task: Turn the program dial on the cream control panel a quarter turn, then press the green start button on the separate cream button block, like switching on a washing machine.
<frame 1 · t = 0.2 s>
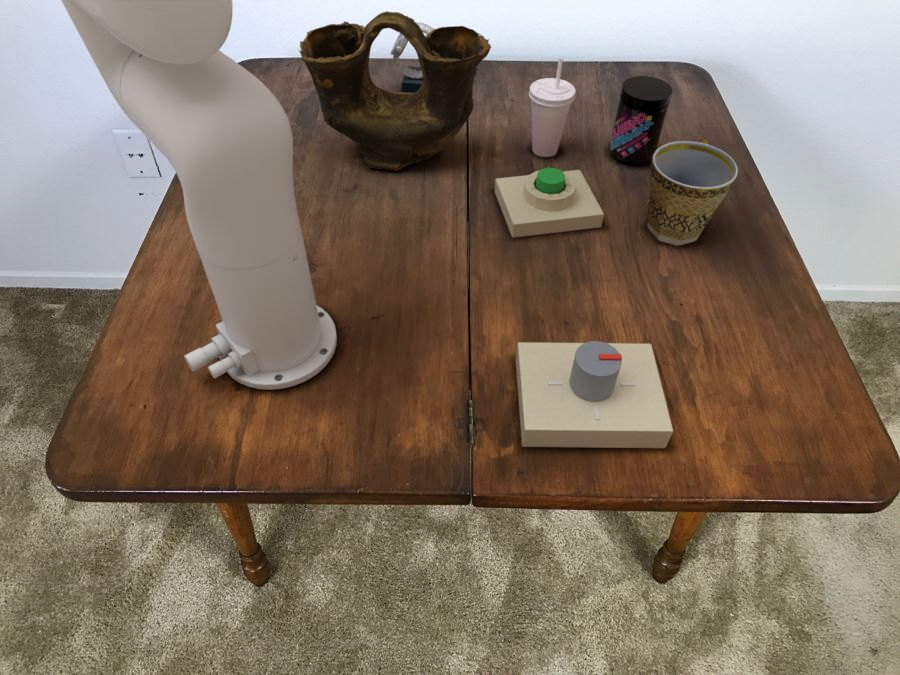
pottery vessel: (400, 154, 99), on the table
supplement container: (631, 155, 100), on the table
control panel: (586, 402, 70), on the table
start button: (550, 181, 87), point 4 cm above the table, slide at 0.1 cm
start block: (546, 209, 91), on the table
ceramic cup: (675, 223, 89), on the table
program dial: (595, 370, 66), point 5 cm above the table, hinge at 0.0°
smoothie: (544, 151, 100), on the table
watch: (417, 94, 111), on the table
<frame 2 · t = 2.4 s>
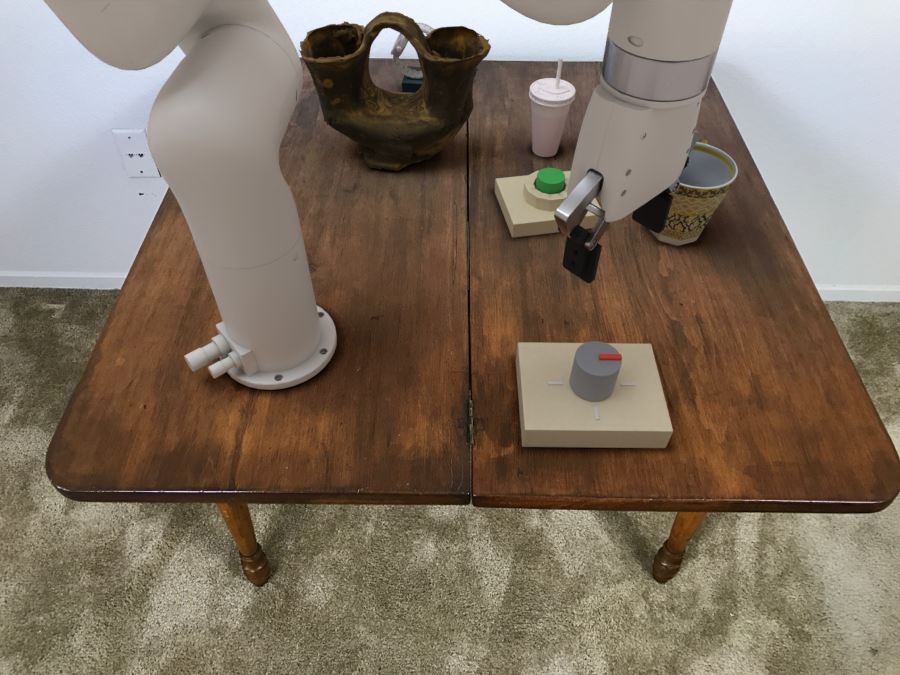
hand: (613, 248, 60), 17 cm above the table, tool pointing down, fingers open, 9 cm apart
nothing on the table moved.
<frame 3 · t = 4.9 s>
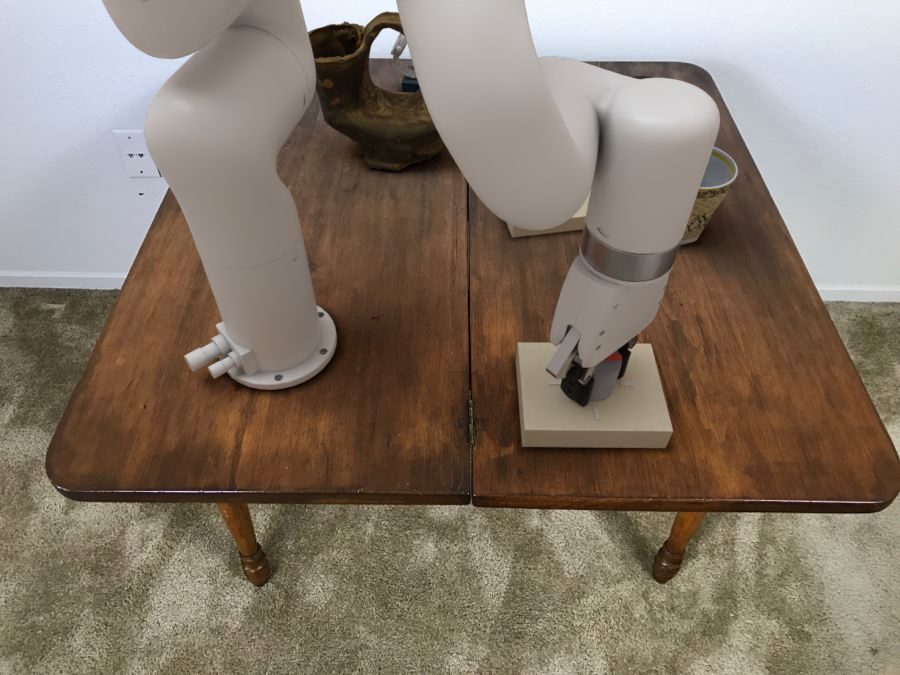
hand: (592, 381, 67), 3 cm above the table, tool pointing down, fingers closed on program dial, 4 cm apart
program dial: (595, 370, 66), point 5 cm above the table, hinge at 0.1°, touching gripper
everything else where it was.
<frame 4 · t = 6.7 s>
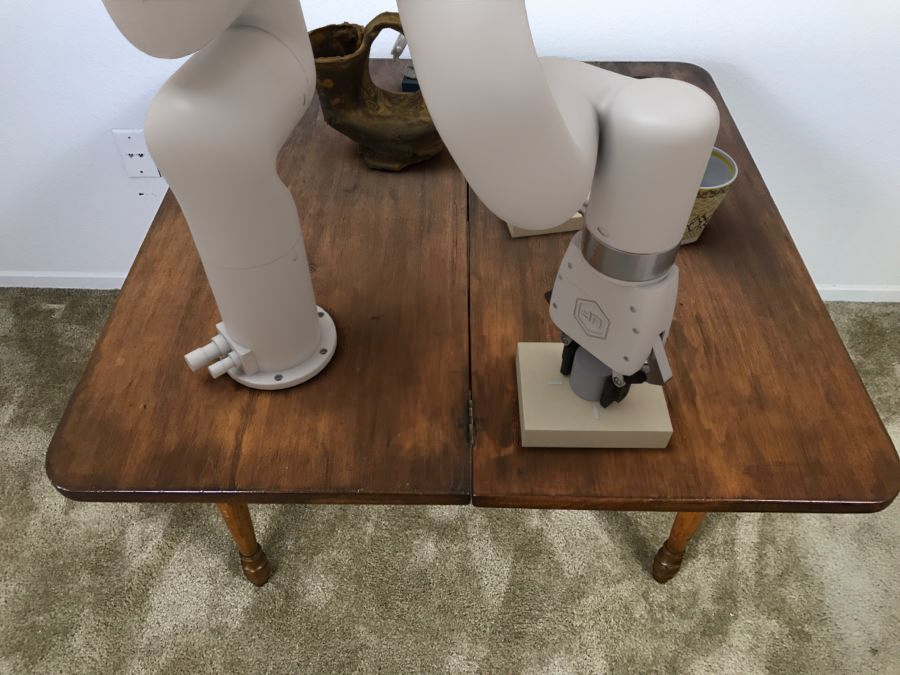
hand: (592, 381, 67), 3 cm above the table, tool pointing down, fingers closed on program dial, 4 cm apart
program dial: (595, 370, 66), point 5 cm above the table, hinge at 89.6°, touching gripper
everything else where it was.
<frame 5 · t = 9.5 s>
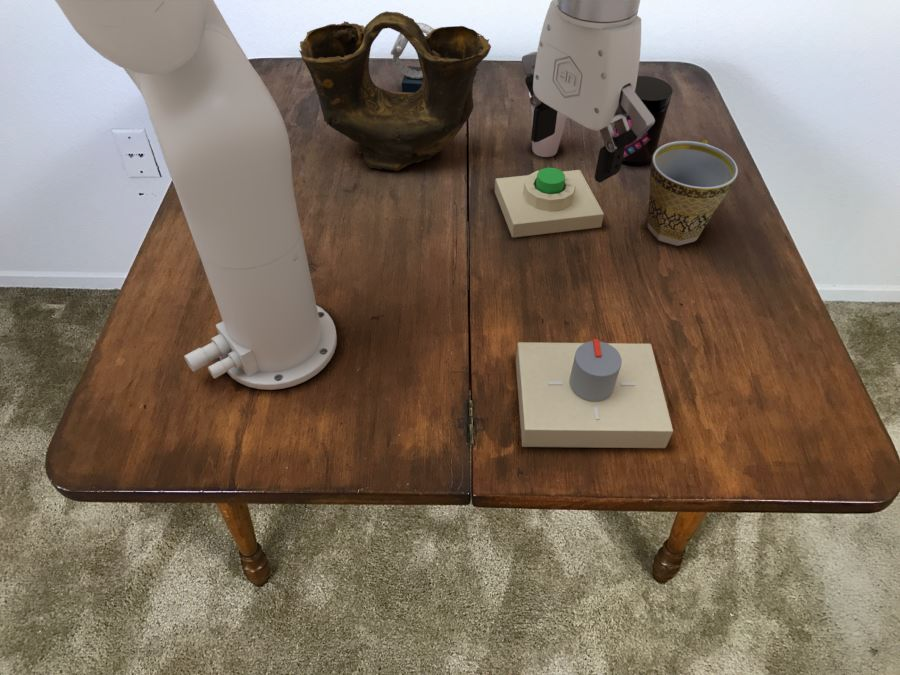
hand: (573, 156, 75), 14 cm above the table, tool pointing down, fingers open, 9 cm apart
program dial: (595, 370, 66), point 5 cm above the table, hinge at 89.4°
everything else where it was.
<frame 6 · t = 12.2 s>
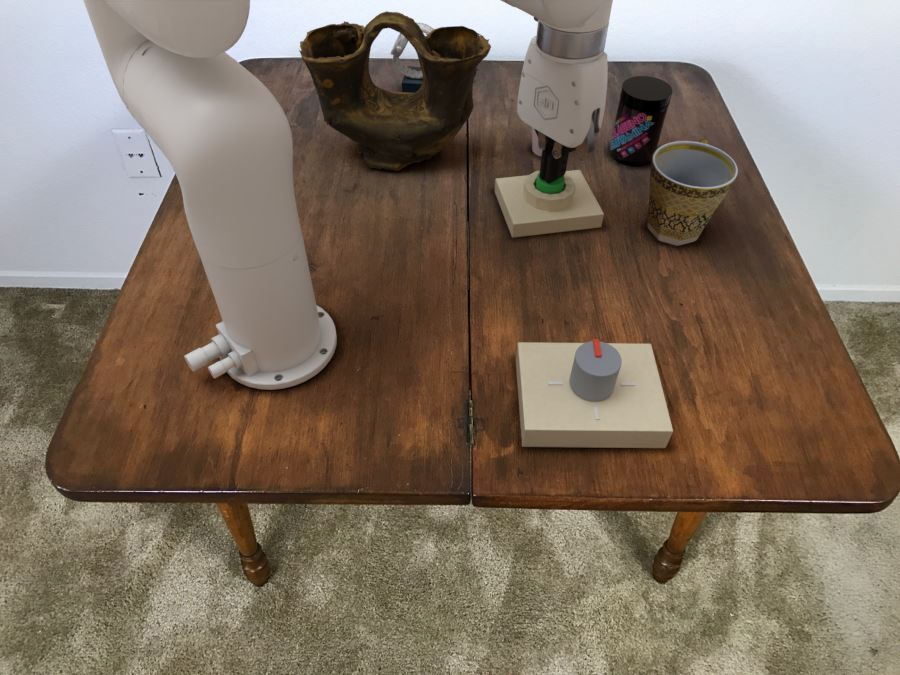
hand: (552, 176, 87), 5 cm above the table, tool pointing down, fingers closed
start button: (550, 183, 88), point 4 cm above the table, slide at -0.2 cm, touching gripper
everything else where it was.
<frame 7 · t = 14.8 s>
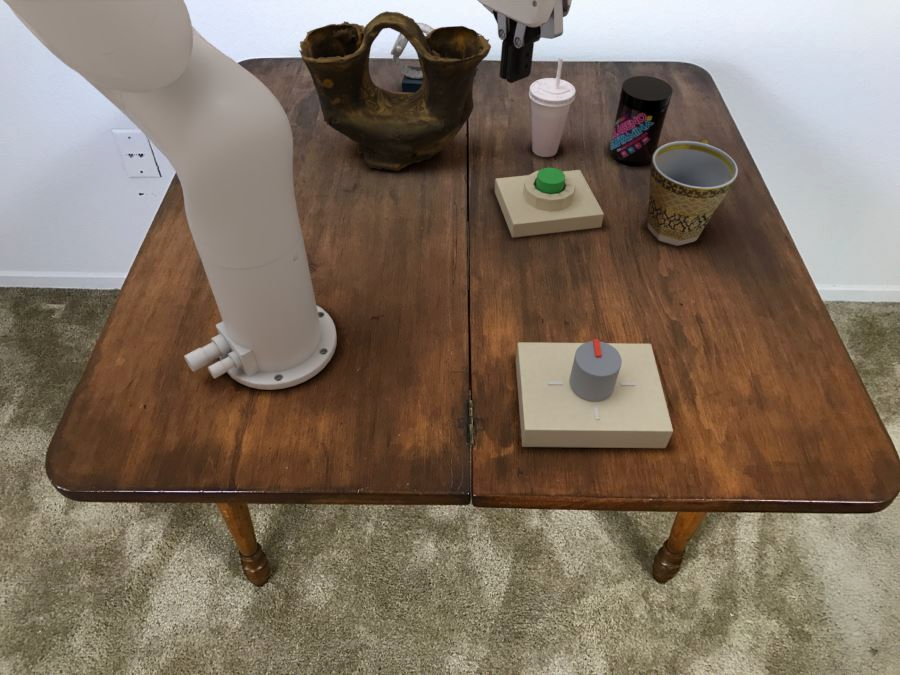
hand: (514, 76, 74), 20 cm above the table, tool pointing down, fingers closed
start button: (550, 181, 87), point 4 cm above the table, slide at 0.1 cm
everything else where it was.
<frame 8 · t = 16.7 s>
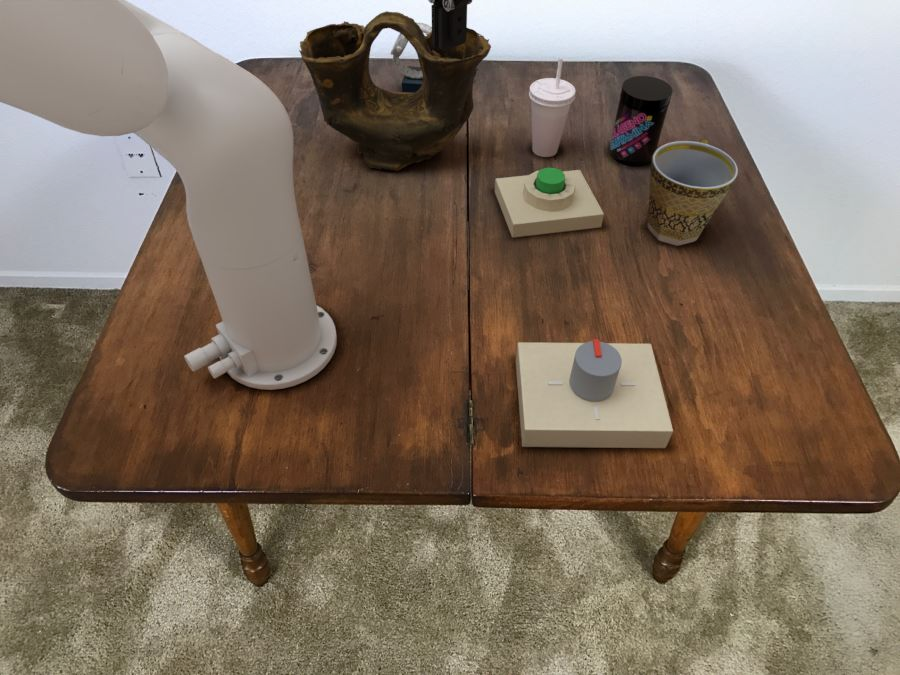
hand: (449, 44, 68), 25 cm above the table, tool pointing down, fingers closed
nothing on the table moved.
at the end: program dial at +89° (first picture: +0°); start button pushed in 1.0 cm at the most during the clip, back to where it started at the end; start button slide at 0.1 cm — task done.
